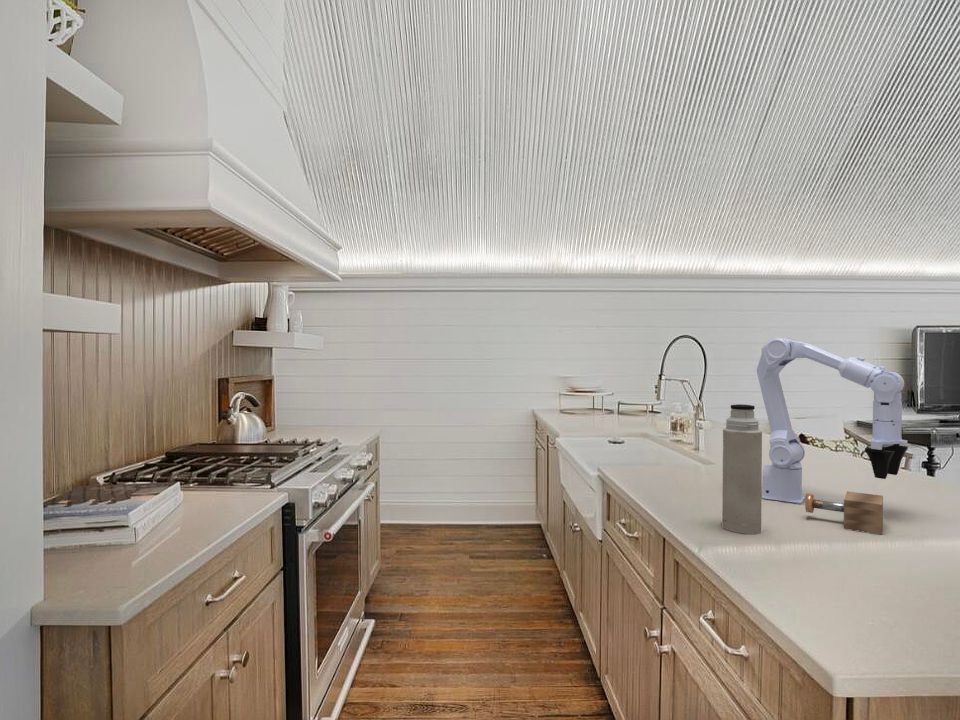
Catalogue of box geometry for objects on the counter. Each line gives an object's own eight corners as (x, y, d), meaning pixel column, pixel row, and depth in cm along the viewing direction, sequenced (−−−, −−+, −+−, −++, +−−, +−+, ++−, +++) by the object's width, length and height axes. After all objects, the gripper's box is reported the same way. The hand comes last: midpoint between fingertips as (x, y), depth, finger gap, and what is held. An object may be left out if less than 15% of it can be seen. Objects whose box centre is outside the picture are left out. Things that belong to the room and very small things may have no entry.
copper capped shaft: (805, 513, 133) (805, 495, 133) (807, 509, 136) (807, 491, 136) (863, 522, 126) (863, 503, 126) (864, 518, 129) (864, 499, 129)
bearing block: (843, 528, 126) (844, 499, 126) (846, 518, 134) (847, 491, 134) (882, 534, 121) (882, 504, 121) (882, 523, 129) (883, 495, 129)
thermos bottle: (720, 521, 131) (721, 402, 130) (758, 525, 128) (759, 403, 128) (723, 531, 123) (724, 405, 123) (763, 535, 120) (764, 406, 120)
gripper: (896, 424, 128) (895, 483, 128) (916, 420, 137) (915, 475, 137) (861, 421, 134) (860, 477, 134) (883, 417, 142) (882, 470, 143)
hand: (886, 476), depth 136 cm, fingers open, 7 cm apart
